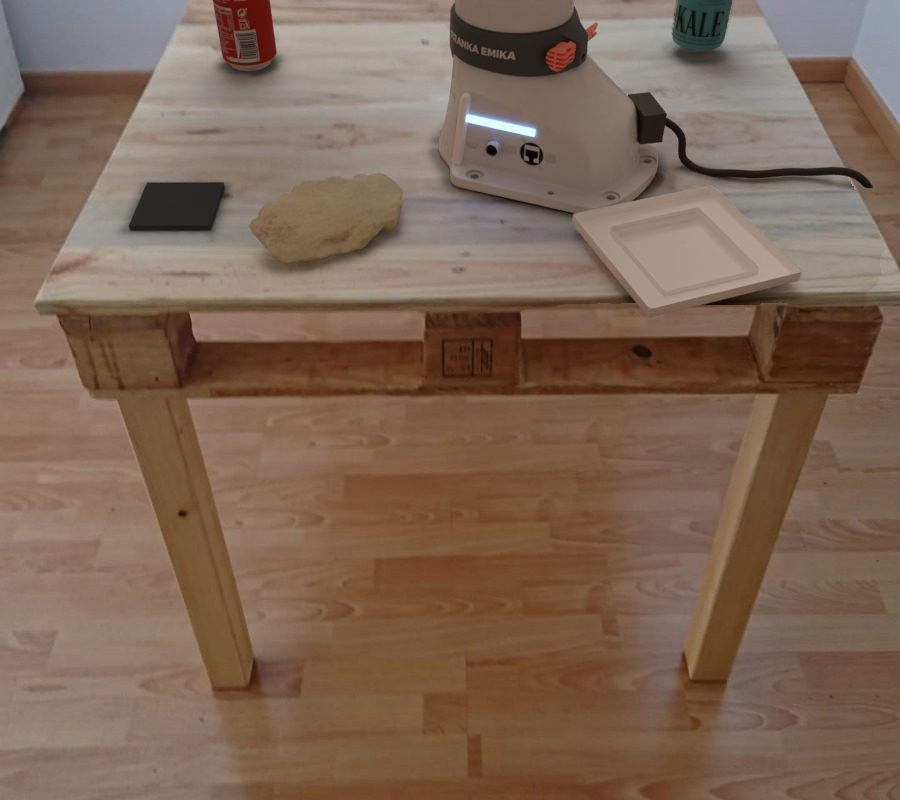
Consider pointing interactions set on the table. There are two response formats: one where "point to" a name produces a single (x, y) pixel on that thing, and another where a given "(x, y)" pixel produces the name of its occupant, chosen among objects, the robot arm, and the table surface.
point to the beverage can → (245, 33)
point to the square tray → (684, 250)
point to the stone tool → (328, 217)
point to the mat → (177, 206)
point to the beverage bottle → (701, 23)
